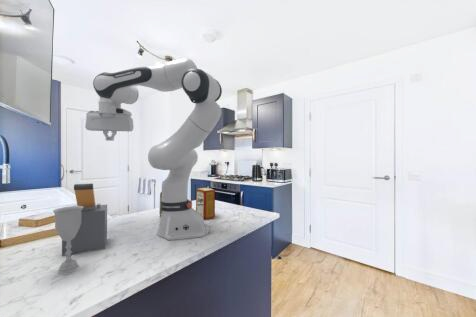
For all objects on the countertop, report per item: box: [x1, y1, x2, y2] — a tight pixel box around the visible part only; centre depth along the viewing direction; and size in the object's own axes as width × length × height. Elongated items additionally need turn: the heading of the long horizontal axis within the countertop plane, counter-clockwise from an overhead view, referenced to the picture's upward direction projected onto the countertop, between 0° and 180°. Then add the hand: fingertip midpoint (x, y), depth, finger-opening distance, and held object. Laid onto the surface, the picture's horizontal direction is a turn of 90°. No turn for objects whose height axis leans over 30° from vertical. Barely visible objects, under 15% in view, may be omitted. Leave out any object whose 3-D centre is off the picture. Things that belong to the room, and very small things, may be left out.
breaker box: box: [61, 203, 108, 257], centre depth 75 cm, size 10×12×15 cm
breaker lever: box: [73, 183, 97, 209], centre depth 72 cm, size 2×5×12 cm
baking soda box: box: [195, 187, 216, 221], centre depth 113 cm, size 10×6×16 cm
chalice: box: [52, 205, 83, 275], centre depth 60 cm, size 7×7×18 cm
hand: (109, 140), depth 95 cm, fingers closed
